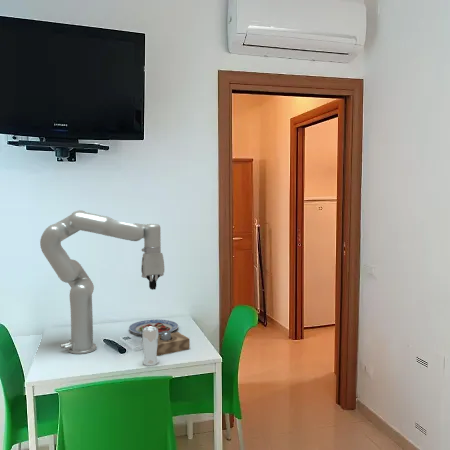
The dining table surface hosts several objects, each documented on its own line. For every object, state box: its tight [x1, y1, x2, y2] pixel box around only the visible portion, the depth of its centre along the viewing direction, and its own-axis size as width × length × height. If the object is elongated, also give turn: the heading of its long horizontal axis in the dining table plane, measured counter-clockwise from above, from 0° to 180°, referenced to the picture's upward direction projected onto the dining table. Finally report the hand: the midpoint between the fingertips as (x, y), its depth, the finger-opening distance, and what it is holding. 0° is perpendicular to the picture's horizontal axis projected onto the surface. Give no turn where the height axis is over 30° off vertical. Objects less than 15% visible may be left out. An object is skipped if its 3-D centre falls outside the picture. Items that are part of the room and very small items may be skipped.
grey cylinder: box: [160, 331, 172, 341], centre depth 209 cm, size 4×4×8 cm
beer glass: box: [141, 326, 159, 367], centre depth 191 cm, size 7×7×15 cm
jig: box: [157, 331, 191, 357], centre depth 209 cm, size 18×12×6 cm, turn 123°
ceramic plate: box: [128, 318, 179, 335], centre depth 238 cm, size 26×26×3 cm
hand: (152, 289), depth 212 cm, fingers closed
